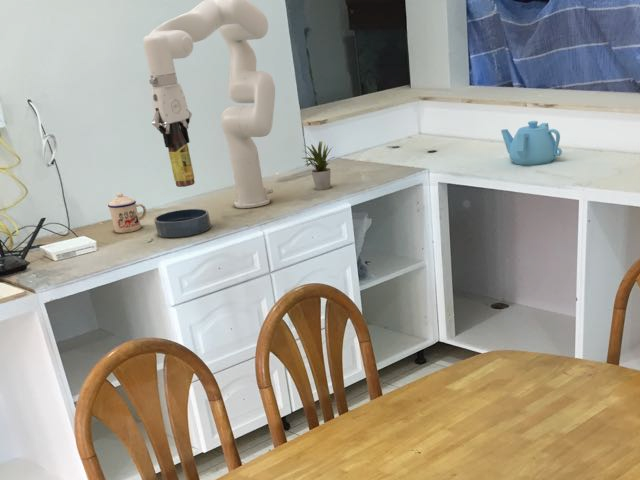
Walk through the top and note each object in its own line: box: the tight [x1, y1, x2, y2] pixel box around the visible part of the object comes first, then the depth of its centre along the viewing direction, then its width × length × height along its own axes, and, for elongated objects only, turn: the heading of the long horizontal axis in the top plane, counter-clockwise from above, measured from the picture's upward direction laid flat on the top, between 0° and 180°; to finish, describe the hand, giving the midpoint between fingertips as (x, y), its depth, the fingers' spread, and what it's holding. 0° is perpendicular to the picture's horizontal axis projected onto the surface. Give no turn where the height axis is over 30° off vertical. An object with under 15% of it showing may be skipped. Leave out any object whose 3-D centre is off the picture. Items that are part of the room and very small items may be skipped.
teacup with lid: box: [107, 192, 147, 234], centre depth 309 cm, size 12×9×12 cm
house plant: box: [302, 140, 335, 191], centre depth 338 cm, size 14×14×16 cm
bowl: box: [153, 208, 212, 238], centre depth 301 cm, size 17×17×5 cm
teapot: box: [500, 120, 563, 166], centre depth 346 cm, size 19×19×14 cm
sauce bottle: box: [167, 121, 196, 188], centre depth 290 cm, size 7×6×20 cm
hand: (177, 144), depth 289 cm, fingers closed on sauce bottle, 6 cm apart
